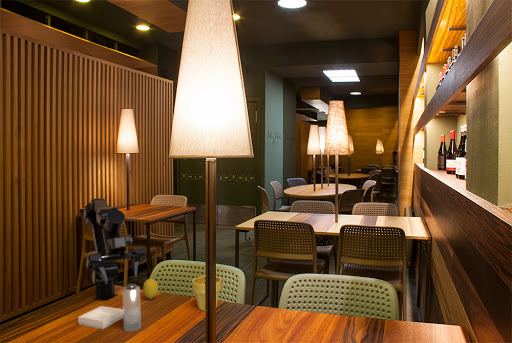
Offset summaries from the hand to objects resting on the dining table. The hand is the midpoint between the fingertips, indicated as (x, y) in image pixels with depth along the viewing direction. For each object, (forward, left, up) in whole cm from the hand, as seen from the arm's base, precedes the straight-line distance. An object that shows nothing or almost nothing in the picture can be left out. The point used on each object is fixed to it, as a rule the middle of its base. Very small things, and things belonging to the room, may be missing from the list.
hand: (121, 280), depth 132 cm
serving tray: (+3, -6, -13) cm, 15 cm away
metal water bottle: (+4, +7, -13) cm, 15 cm away
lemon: (-19, -3, -13) cm, 24 cm away
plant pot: (-19, +21, -13) cm, 31 cm away
